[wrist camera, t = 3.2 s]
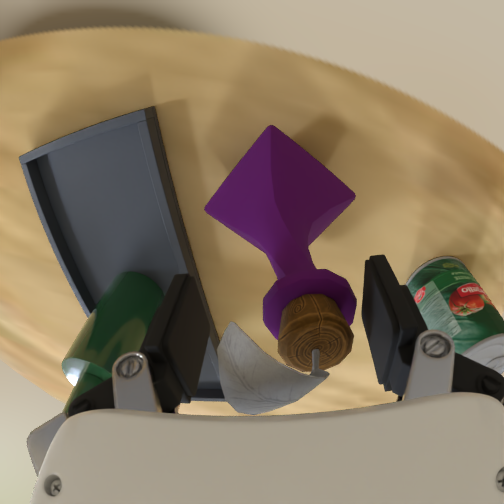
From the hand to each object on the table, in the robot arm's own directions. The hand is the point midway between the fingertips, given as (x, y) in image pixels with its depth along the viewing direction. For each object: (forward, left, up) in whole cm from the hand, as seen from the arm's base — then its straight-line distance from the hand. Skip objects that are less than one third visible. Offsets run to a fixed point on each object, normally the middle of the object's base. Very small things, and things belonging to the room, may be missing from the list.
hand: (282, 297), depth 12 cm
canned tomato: (+12, +15, -13) cm, 23 cm away
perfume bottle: (0, 0, -13) cm, 13 cm away
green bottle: (+9, -15, -12) cm, 21 cm away
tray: (+9, -15, -13) cm, 22 cm away
